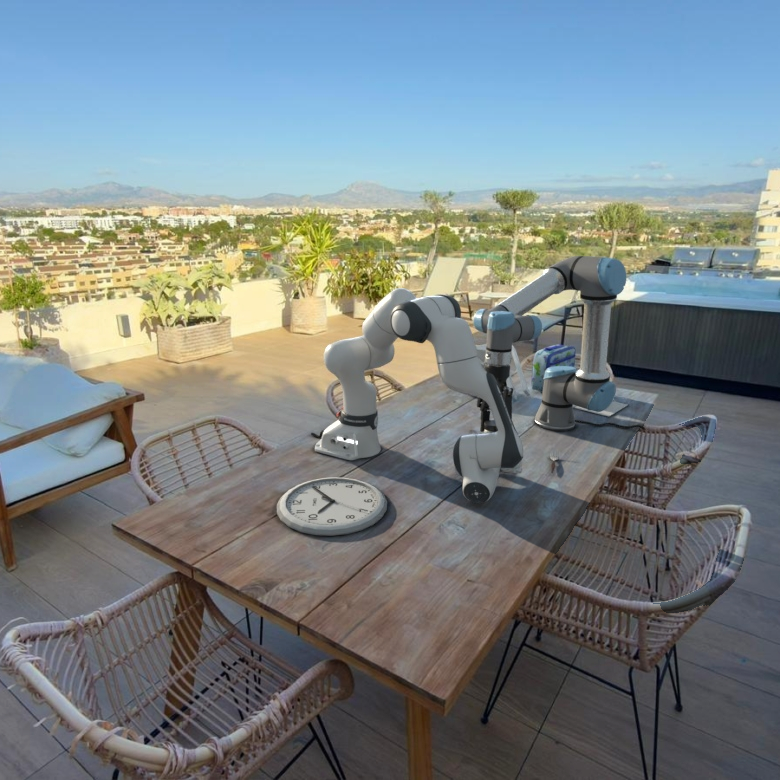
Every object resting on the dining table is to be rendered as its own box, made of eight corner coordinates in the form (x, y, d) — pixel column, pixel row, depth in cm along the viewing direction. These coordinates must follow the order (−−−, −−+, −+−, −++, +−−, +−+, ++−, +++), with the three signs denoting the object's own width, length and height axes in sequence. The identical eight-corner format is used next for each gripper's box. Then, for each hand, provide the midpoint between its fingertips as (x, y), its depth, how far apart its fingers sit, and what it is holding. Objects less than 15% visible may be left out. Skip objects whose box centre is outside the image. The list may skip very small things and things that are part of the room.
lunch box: (547, 397, 237) (552, 352, 231) (526, 391, 245) (531, 348, 238) (574, 386, 255) (580, 344, 249) (554, 381, 262) (559, 340, 256)
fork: (547, 473, 163) (548, 467, 163) (550, 454, 177) (551, 448, 177) (556, 475, 162) (556, 469, 162) (558, 455, 177) (559, 449, 176)
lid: (492, 432, 158) (493, 427, 158) (480, 427, 163) (480, 422, 162) (504, 429, 161) (505, 423, 161) (492, 424, 166) (492, 418, 165)
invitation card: (608, 416, 214) (573, 407, 224) (608, 416, 214) (573, 408, 224) (628, 404, 229) (594, 396, 238) (628, 405, 229) (594, 397, 238)
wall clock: (392, 527, 129) (268, 531, 127) (391, 533, 130) (269, 537, 127) (383, 473, 158) (282, 475, 155) (383, 478, 158) (282, 480, 156)
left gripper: (522, 464, 149) (525, 445, 161) (451, 453, 154) (459, 437, 167) (520, 484, 151) (523, 464, 163) (450, 473, 156) (458, 455, 169)
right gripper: (468, 357, 163) (463, 426, 170) (508, 373, 146) (501, 449, 152) (488, 355, 166) (482, 422, 173) (529, 370, 149) (522, 445, 156)
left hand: (490, 450), depth 165 cm, fingers closed on jar, 5 cm apart
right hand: (491, 435), depth 163 cm, fingers open, 7 cm apart
